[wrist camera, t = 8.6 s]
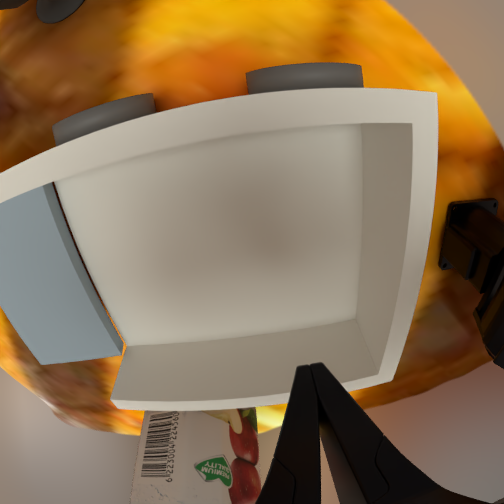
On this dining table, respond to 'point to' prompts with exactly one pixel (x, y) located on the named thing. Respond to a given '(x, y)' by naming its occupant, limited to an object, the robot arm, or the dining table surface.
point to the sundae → (47, 8)
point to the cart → (250, 232)
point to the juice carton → (198, 458)
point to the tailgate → (49, 284)
